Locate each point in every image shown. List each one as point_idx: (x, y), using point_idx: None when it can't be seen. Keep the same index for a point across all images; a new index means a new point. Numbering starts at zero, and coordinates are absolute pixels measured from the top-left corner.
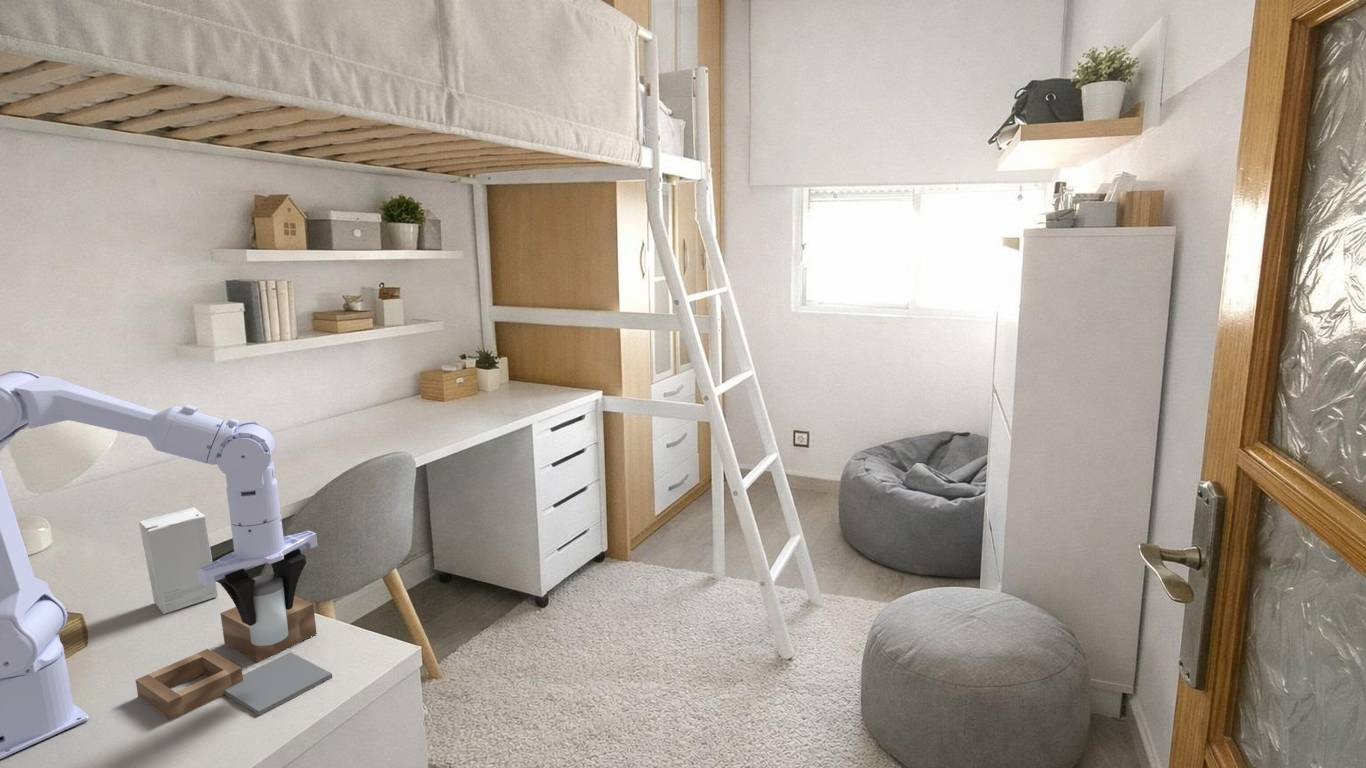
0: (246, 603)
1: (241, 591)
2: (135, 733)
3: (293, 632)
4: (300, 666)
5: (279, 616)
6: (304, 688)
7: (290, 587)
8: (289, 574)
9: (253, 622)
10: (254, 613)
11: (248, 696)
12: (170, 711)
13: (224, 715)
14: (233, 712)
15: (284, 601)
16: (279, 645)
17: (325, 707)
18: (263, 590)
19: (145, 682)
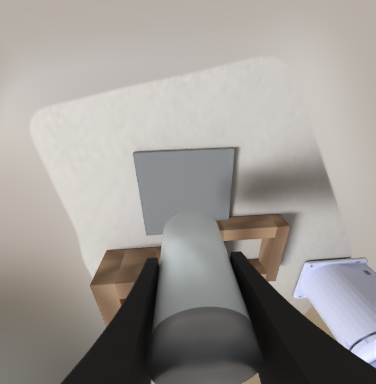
0: (283, 301)
1: (350, 358)
2: (304, 218)
3: (130, 260)
4: (153, 200)
5: (187, 243)
6: (173, 151)
7: (140, 308)
8: (131, 370)
9: (237, 254)
10: (243, 269)
11: (222, 188)
12: (283, 219)
13: (250, 181)
14: (242, 178)
15: (164, 275)
16: (149, 253)
17: (175, 87)
18: (236, 329)
19: (274, 271)
